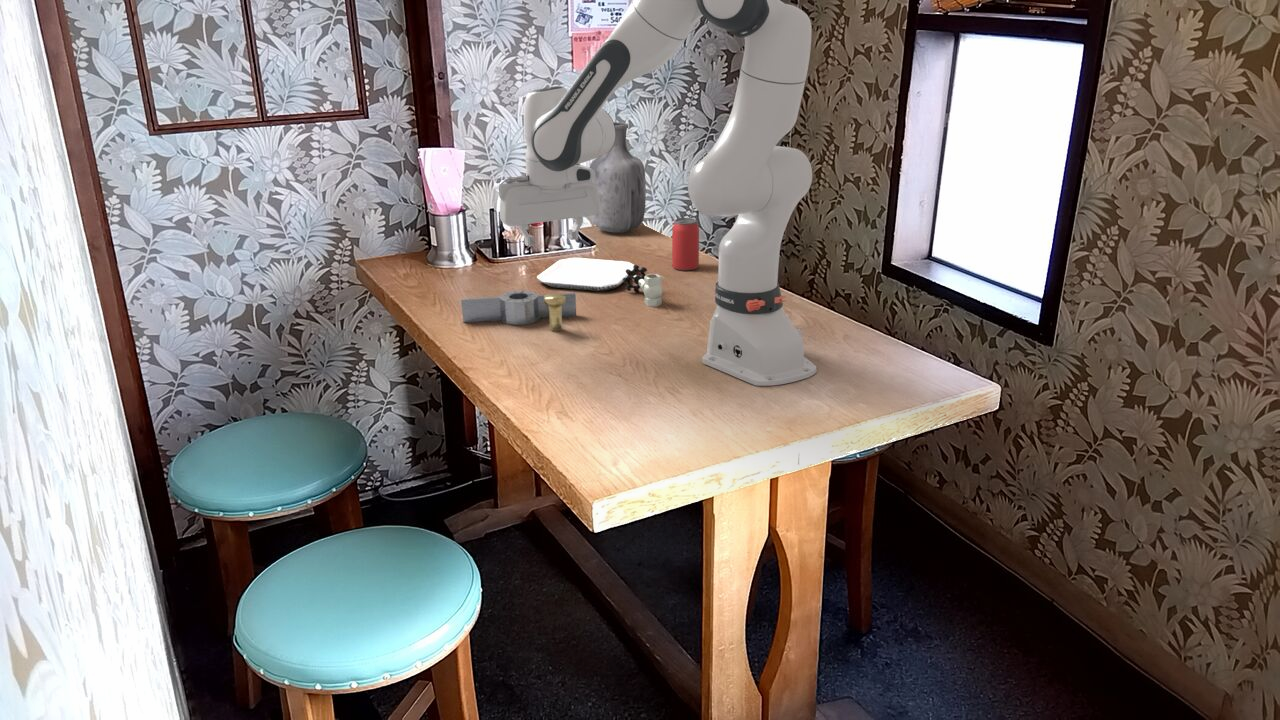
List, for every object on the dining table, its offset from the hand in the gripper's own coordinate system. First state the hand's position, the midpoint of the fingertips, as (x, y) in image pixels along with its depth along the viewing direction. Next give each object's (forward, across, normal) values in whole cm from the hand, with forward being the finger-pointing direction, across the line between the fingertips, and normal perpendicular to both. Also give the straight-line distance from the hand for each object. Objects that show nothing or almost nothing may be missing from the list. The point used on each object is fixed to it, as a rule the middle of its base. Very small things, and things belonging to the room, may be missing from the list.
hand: (551, 242), depth 190 cm
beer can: (+19, +46, +25) cm, 56 cm away
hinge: (+19, -4, +10) cm, 21 cm away
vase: (+19, +48, +66) cm, 84 cm away
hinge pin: (+19, 0, 0) cm, 19 cm away
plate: (+19, +21, +29) cm, 41 cm away
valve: (+19, +26, +8) cm, 33 cm away
